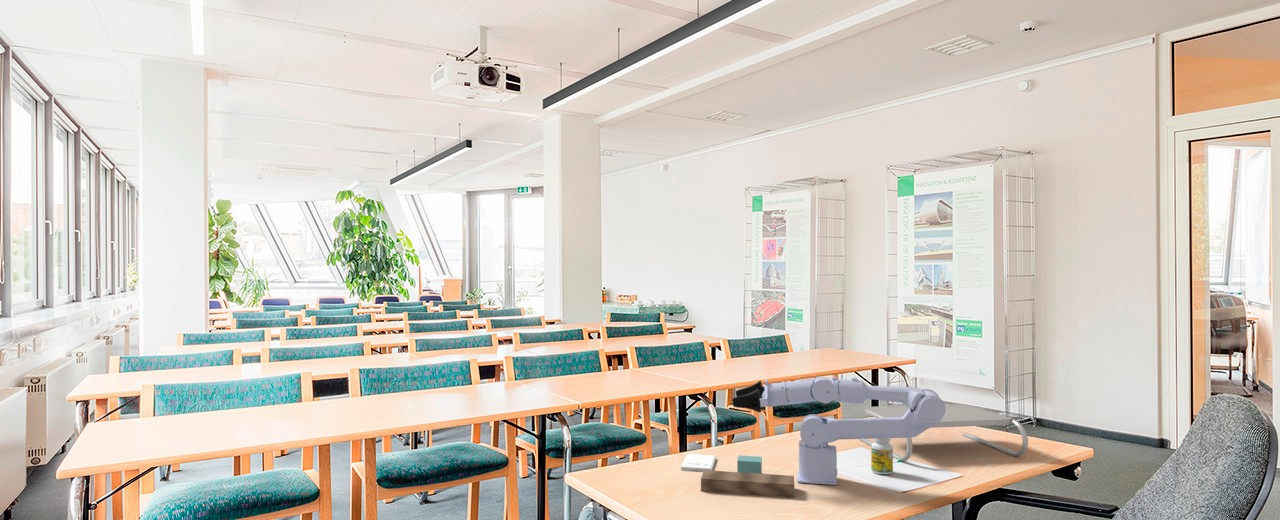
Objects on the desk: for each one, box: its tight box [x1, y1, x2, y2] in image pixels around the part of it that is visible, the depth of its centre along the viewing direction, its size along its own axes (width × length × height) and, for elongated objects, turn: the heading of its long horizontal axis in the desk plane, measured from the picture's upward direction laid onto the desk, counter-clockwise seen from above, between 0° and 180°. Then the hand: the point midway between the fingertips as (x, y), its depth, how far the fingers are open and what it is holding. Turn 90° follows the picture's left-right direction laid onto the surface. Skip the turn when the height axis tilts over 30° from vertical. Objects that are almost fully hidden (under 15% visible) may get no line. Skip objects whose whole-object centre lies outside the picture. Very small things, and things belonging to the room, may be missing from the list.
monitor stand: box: [858, 403, 1029, 462], centre depth 209 cm, size 37×28×11 cm
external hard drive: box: [680, 453, 717, 473], centre depth 192 cm, size 2×8×12 cm
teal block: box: [736, 455, 763, 474], centre depth 183 cm, size 6×5×4 cm
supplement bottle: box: [870, 438, 894, 475], centre depth 186 cm, size 5×5×10 cm
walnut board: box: [700, 470, 795, 498], centre depth 171 cm, size 22×7×3 cm, turn 79°
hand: (734, 398), depth 185 cm, fingers open, 7 cm apart
